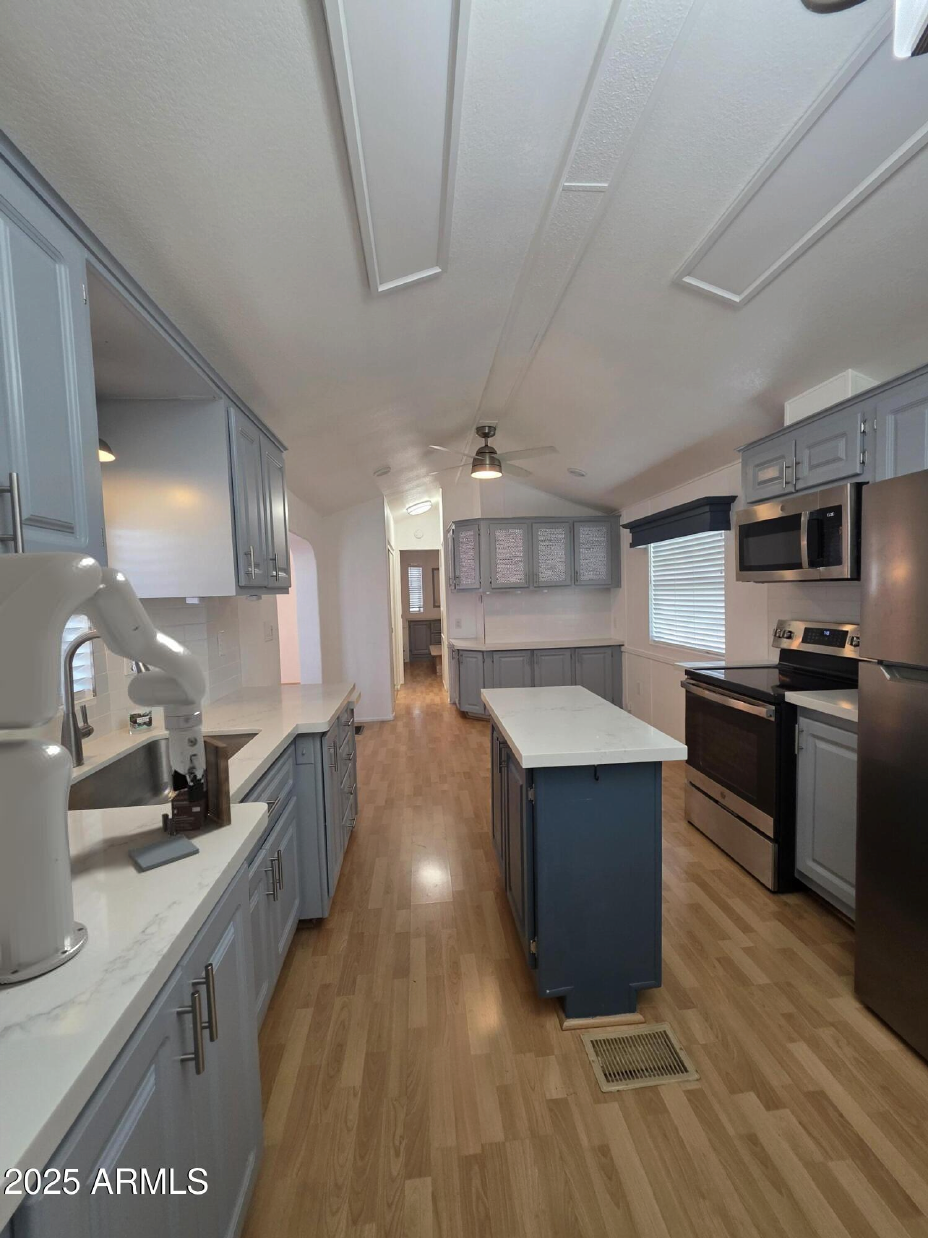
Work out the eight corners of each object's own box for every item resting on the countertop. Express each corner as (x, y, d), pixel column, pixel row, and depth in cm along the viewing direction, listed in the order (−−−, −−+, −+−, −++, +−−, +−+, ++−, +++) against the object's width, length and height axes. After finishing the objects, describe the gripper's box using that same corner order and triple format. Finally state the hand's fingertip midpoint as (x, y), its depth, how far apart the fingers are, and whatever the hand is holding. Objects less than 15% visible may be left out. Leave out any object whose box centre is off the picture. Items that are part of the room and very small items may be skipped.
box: (171, 833, 120) (169, 800, 119) (180, 821, 125) (178, 790, 125) (201, 830, 121) (199, 797, 120) (208, 819, 127) (207, 787, 126)
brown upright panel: (175, 841, 115) (171, 757, 114) (157, 825, 123) (153, 747, 122) (231, 824, 123) (227, 745, 122) (211, 810, 132) (207, 736, 131)
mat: (143, 871, 103) (143, 867, 103) (128, 854, 110) (128, 850, 110) (199, 852, 110) (199, 849, 110) (182, 837, 117) (181, 834, 117)
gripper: (215, 723, 118) (220, 800, 119) (187, 711, 130) (192, 781, 131) (178, 731, 113) (184, 811, 114) (152, 717, 125) (158, 790, 126)
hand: (188, 795), depth 123 cm, fingers open, 9 cm apart
